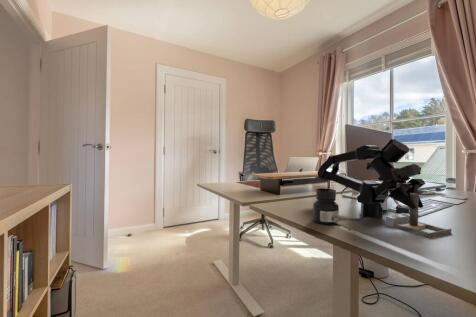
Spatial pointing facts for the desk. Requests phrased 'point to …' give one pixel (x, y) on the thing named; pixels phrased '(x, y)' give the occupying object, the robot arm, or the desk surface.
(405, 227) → the open grey box
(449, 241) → the desk surface
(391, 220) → the gauge cabinet
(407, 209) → the watch
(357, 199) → the robot arm
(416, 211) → the grey cylinder
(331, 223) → the ink bottle
